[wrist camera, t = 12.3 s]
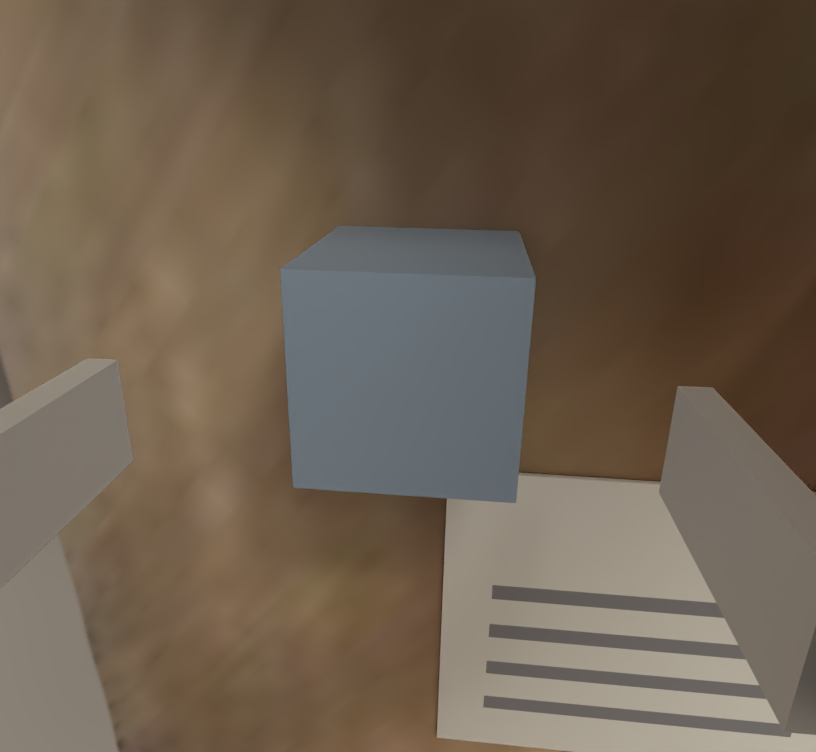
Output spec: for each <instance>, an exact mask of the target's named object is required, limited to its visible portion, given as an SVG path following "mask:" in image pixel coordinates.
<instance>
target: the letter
mask: <svg viewBox="0 0 816 752" xmlns="http://www.w3.org/2000/svg"><path fill="white" fill-rule="evenodd" d="M660 484H661V482H658V481H642V480H627V479H611V478H595V477H580V476H564V475H549V474H533V473H519V476H518V488H517V499H516V503H505V502H491V501H476V500H462V499H447V505H446V529H445V553H444V577H443V601H442V625H441V649H440V673H439V697H438V721H437V738H445V739H454V740H464V741H474V742H484V743H493V744H503V745H513V746H523V747H532V748H542V749H552V750H562V751H571V752H816V735H810V734H799V733H788V732H784V731H783V729H782V727H781V726H780V724H779V722H778V720H777V718H776V716H775V714H774V712H773V710H772V708H771V706H770V704H769V703H768V701H767V699H766V697H765V695H764V693H763V691H762V689H761V687H760V685H759V683H758V682H757V680H756V678H755V676H754V674H753V672H752V670H751V668H750V666H749V664H748V662H747V660H746V659H745V657H744V655H743V653H742V651H741V649H740V647H739V645H738V643H737V641H736V639H735V637H734V636H733V634H732V632H731V630H730V628H729V626H728V624H727V622H726V620H725V618H724V616H723V615H722V613H721V611H720V609H719V607H718V605H717V603H716V601H715V599H714V597H713V595H712V593H711V592H710V590H709V588H708V586H707V584H706V582H705V580H704V578H703V576H702V574H701V572H700V570H699V569H698V567H697V565H696V563H695V561H694V559H693V557H692V555H691V553H690V551H689V549H688V548H687V546H686V544H685V542H684V540H683V538H682V536H681V534H680V532H679V530H678V528H677V526H676V525H675V523H674V521H673V519H672V517H671V515H670V513H669V511H668V509H667V507H666V505H665V503H664V502H663V500H662V498H661V496H660V494H659V489H660ZM812 492H813V493H814V494H815V495H816V492H814V491H812Z"/></svg>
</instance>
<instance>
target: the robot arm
mask: <svg viewBox="0 0 816 752" xmlns="http://www.w3.org/2000/svg"><path fill="white" fill-rule="evenodd" d="M132 462H133V457H132V450H131V444H130V437H129V430H128V424H127V417H126V411H125V404H124V398H123V391H122V384H121V378H120V371H119V365H118V360H116V359H94V358H87V359H85V360H83V361H82V362H80V363H78V364H77V365H75V366H73V367H71V368H70V369H68V370H66V371H65V372H63V373H61V374H59V375H58V376H56V377H54V378H52V379H51V380H49V381H47V382H46V383H44V384H42V385H40V386H39V387H37V388H35V389H34V390H32V391H30V392H28V393H27V394H25V395H23V396H21V397H20V398H18V399H16V400H15V401H13V402H11V403H10V404H8V405H6V406H4V407H3V408H1V409H0V589H1V588H2V587H3V586H4V585H5V584H6V583H7V582H8V581H9V580H10V579H11V578H12V577H13V576H14V575H15V574H16V573H18V572H19V571H20V570H21V569H22V568H23V567H24V566H25V565H26V564H27V563H28V562H29V561H30V560H31V559H32V558H33V557H34V556H35V555H36V554H37V553H38V552H39V551H40V550H41V549H42V548H44V547H45V546H46V545H47V544H48V542H50V541H51V540H52V539H53V538H54V537H55V536H56V535H57V534H58V533H59V532H60V531H61V530H62V529H63V528H64V527H65V526H66V525H67V524H68V523H69V522H71V521H72V520H73V519H74V518H75V517H76V516H77V515H78V514H79V513H80V512H81V511H82V510H83V509H84V508H85V507H86V506H87V505H88V504H89V503H90V502H91V501H92V500H93V499H94V498H95V497H96V496H98V495H99V494H100V493H101V492H102V491H103V490H104V489H105V488H106V487H107V486H108V485H109V484H110V483H111V482H112V481H113V480H114V479H115V478H116V477H117V476H118V475H119V474H120V473H121V472H122V471H123V470H125V469H126V468H127V467H128V466H129V465H130V464H131V463H132ZM659 494H660V496H661V498H662V500H663V502H664V503H665V505H666V507H667V509H668V511H669V513H670V515H671V517H672V519H673V521H674V523H675V525H676V526H677V528H678V530H679V532H680V534H681V536H682V538H683V540H684V542H685V544H686V546H687V548H688V549H689V551H690V553H691V555H692V557H693V559H694V561H695V563H696V565H697V567H698V569H699V570H700V572H701V574H702V576H703V578H704V580H705V582H706V584H707V586H708V588H709V590H710V592H711V593H712V595H713V597H714V599H715V601H716V603H717V605H718V607H719V609H720V611H721V613H722V615H723V616H724V618H725V620H726V622H727V624H728V626H729V628H730V630H731V632H732V634H733V636H734V637H735V639H736V641H737V643H738V645H739V647H740V649H741V651H742V653H743V655H744V657H745V659H746V660H747V662H748V664H749V666H750V668H751V670H752V672H753V674H754V676H755V678H756V680H757V682H758V683H759V685H760V687H761V689H762V691H763V693H764V695H765V697H766V699H767V701H768V703H769V704H770V706H771V708H772V710H773V712H774V714H775V716H776V718H777V720H778V722H779V724H780V726H781V727H782V729H783V731H784V732H788V733H799V734H810V735H816V495H815V494H814V493H813V492H812V491H811V490H810V489H809V488H808V487H807V486H806V485H805V484H804V483H803V481H802V480H801V479H800V478H799V477H798V476H797V475H796V474H795V473H794V472H793V471H792V470H791V469H790V468H789V467H788V466H787V465H786V464H785V463H784V462H783V460H782V459H781V458H780V457H779V456H778V455H777V454H776V453H775V452H774V451H773V450H772V449H771V448H770V447H769V446H768V445H767V444H766V443H765V442H764V441H763V440H762V438H761V437H760V436H759V435H758V434H757V433H756V432H755V431H754V430H753V429H752V428H751V427H750V426H749V425H748V424H747V423H746V422H745V421H744V420H743V419H742V417H741V416H740V415H739V414H738V413H737V412H736V411H735V410H734V409H733V408H732V407H731V406H730V405H729V404H728V403H727V402H726V401H725V400H724V399H723V398H722V397H721V395H720V394H719V393H718V392H717V391H716V390H715V389H714V388H713V387H693V386H677V392H676V398H675V404H674V409H673V415H672V421H671V426H670V432H669V438H668V444H667V449H666V455H665V461H664V466H663V472H662V478H661V484H660V489H659Z"/></svg>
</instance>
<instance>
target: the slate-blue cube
mask: <svg viewBox="0 0 816 752" xmlns="http://www.w3.org/2000/svg"><path fill="white" fill-rule="evenodd" d="M280 277H281V294H282V311H283V328H284V344H285V361H286V378H287V395H288V412H289V429H290V446H291V462H292V479H293V488H303V489H317V490H332V491H346V492H361V493H375V494H390V495H404V496H418V497H433V498H447V499H462V500H476V501H491V502H505V503H516V499H517V488H518V476H519V465H520V454H521V442H522V431H523V420H524V409H525V397H526V386H527V375H528V364H529V352H530V341H531V330H532V319H533V307H534V296H535V285H536V277H535V274H534V271H533V268H532V266H531V263H530V260H529V257H528V254H527V252H526V249H525V246H524V243H523V240H522V237H521V235H520V232H519V231H502V230H469V229H437V228H404V227H371V226H338V227H337V228H335V229H334V230H333V231H331V232H330V233H329V234H327V235H326V236H324V237H323V238H322V239H320V240H319V241H318V242H316V243H315V244H313V245H312V246H311V247H309V248H308V249H307V250H305V251H304V252H302V253H301V254H300V255H298V256H297V257H296V258H294V259H293V260H292V261H290V262H289V263H287V264H286V265H285V266H283V267H282V268H281V269H280Z"/></svg>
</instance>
